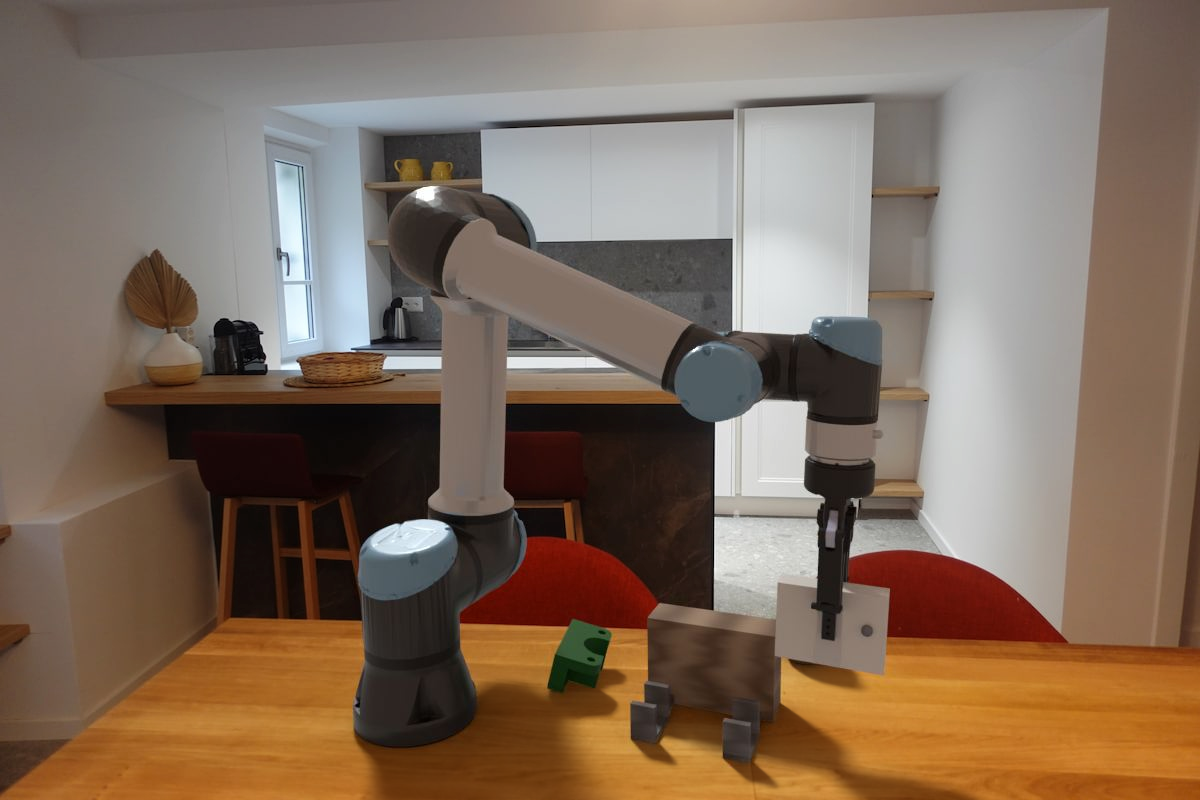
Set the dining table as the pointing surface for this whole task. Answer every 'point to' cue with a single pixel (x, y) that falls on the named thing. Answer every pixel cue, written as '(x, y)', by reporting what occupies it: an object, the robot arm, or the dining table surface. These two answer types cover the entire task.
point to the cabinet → (710, 673)
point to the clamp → (579, 656)
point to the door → (859, 625)
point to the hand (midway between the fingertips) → (829, 655)
